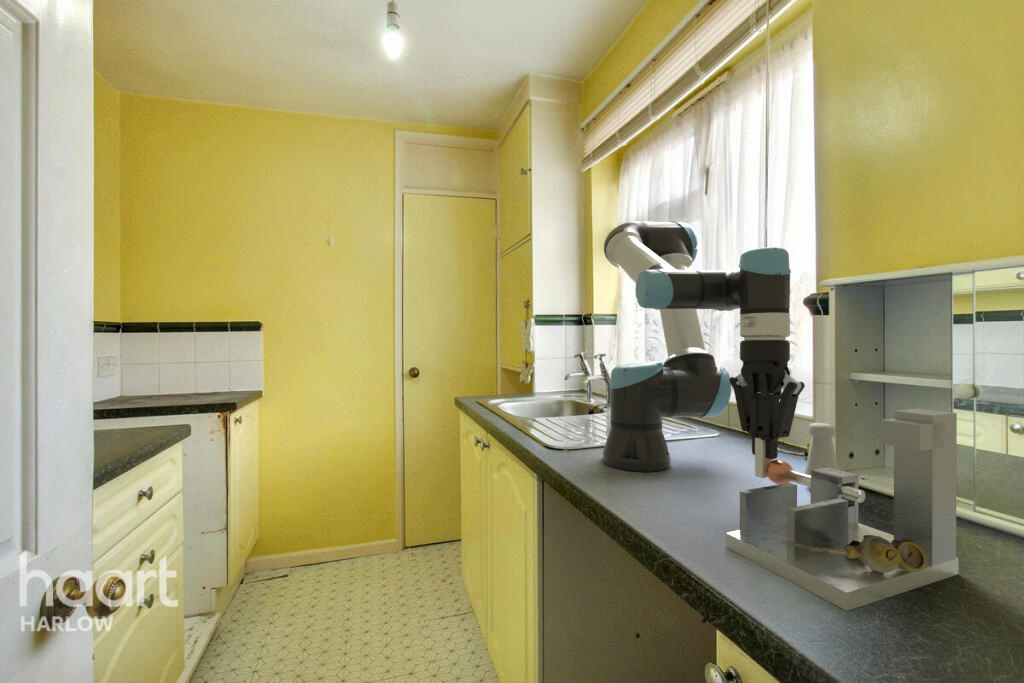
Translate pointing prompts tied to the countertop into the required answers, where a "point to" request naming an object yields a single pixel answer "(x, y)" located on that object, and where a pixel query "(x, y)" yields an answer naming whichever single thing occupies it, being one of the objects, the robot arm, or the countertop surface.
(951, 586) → the countertop surface
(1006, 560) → the countertop surface
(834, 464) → the salt shaker
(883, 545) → the regulator
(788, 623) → the countertop surface
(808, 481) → the lever
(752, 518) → the press
